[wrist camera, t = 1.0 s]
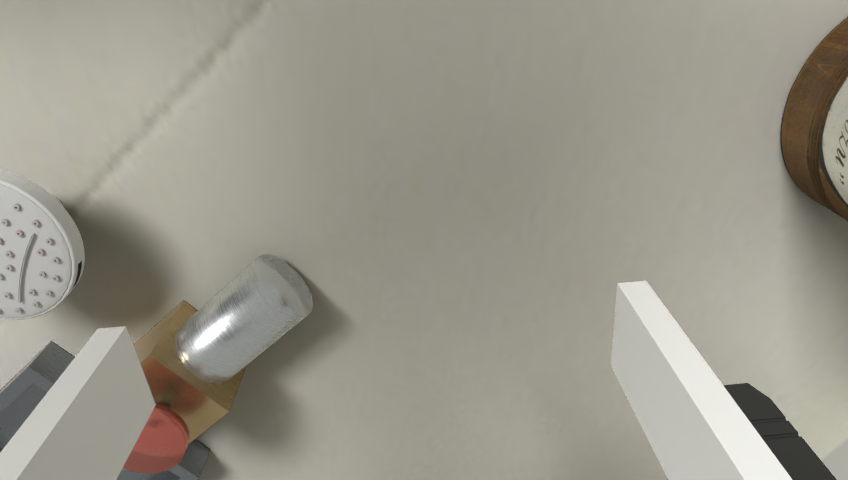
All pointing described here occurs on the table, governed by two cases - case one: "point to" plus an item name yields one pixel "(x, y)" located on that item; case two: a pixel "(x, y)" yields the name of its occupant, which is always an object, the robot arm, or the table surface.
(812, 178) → the wooden container
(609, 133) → the table surface
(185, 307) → the metal assembly
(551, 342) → the table surface
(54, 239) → the showerhead
